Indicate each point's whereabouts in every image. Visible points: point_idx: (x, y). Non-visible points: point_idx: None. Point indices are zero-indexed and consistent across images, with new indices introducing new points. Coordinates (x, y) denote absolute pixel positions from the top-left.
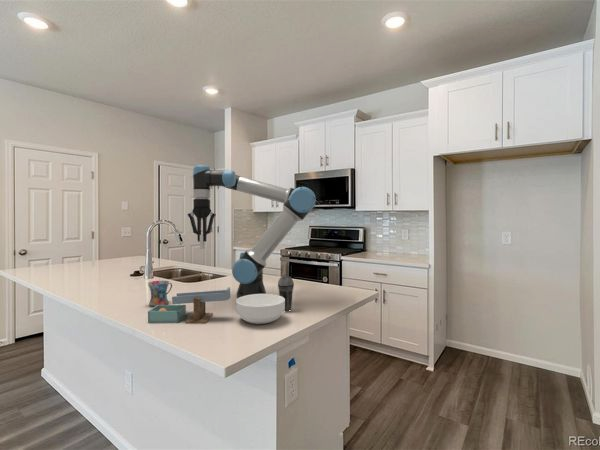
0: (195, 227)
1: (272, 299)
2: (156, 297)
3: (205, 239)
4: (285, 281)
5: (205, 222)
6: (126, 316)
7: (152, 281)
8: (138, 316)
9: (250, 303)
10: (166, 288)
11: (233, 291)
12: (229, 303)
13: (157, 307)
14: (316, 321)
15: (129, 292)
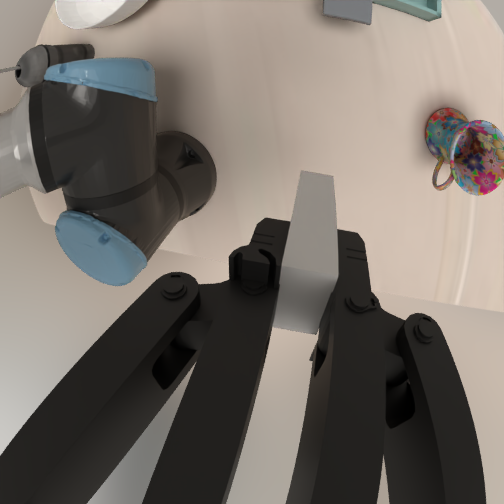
0: (405, 430)
1: (83, 25)
2: (464, 120)
3: (257, 232)
4: (27, 51)
5: (149, 495)
6: (496, 52)
7: (497, 185)
8: (471, 37)
9: (136, 6)
10: (450, 139)
11: (238, 239)
12: (226, 103)
13: (435, 9)
14: (49, 11)
15: (491, 281)
